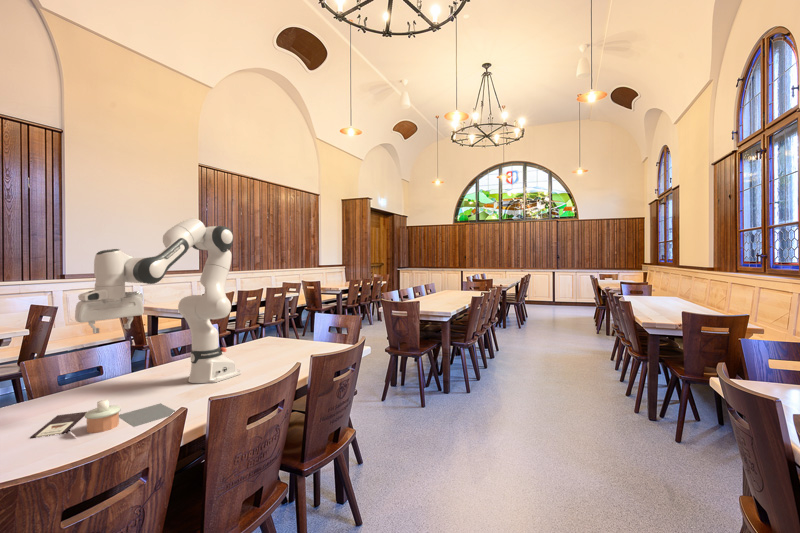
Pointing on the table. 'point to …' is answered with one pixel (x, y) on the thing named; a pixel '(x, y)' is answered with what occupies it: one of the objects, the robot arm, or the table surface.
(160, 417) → the mat
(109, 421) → the cup
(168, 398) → the table surface
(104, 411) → the lid
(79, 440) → the table surface
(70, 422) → the chocolate bar
